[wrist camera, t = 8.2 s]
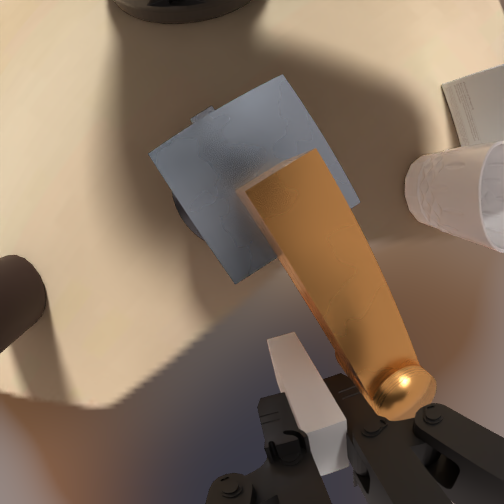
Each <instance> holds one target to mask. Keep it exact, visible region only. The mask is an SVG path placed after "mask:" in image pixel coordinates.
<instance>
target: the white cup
mask: <svg viewBox="0 0 504 504" xmlns="http://www.w3.org/2000/svg"><path fill="white" fill-rule="evenodd" d="M405 198H406V201H407V205H408V208H409V211H410V212H411V213H412V214H413V216H414V217H415V218H416V219H417V221H418V222H420V223H423V224H425V225H428V226H430V227H434V228H437V229H439V230H440V231H442V232H445V233H448V234H450V235H453V236H456V237H459V238H461V239H464V240H467V241H470V242H473V243H476V244H479V245H482V246H485V247H487V248H490V249H493V250H496V251H498V252H501V253H504V141H495V142H489V143H482V144H475V145H468V146H462V147H458V148H453V149H448V150H443V151H441V152H439V153H434V154H428V155H422V156H420V157H419V158H418V159H417V160H415V161H414V162H413V163H412V164H411V166H410V168H409V170H408V173H407V175H406V177H405Z"/></svg>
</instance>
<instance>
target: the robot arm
mask: <svg viewBox="0 0 504 504" xmlns="http://www.w3.org/2000/svg"><path fill="white" fill-rule="evenodd" d="M250 1H251V0H114V2H115V3H116V4H117V5H118V6H119V7H120V8H121V9H122V10H123V11H125V12H126V13H128V14H130V15H132V16H134V17H136V18H139V19H142V20H146V21H151V22H157V23H189V22H197V21H202V20H207V19H211V18H215V17H218V16H221V15H224V14H227V13H230V12H232V11H234V10H236V9H238V8H240V7H242V6H244V5H246V4H247V3H249V2H250ZM267 343H268V347H269V351H270V355H271V360H272V364H273V368H274V372H275V376H276V380H277V383H278V386H279V389H280V392H281V393H279V394H275V395H271V396H267V397H264V398H261V399H260V401H259V404H258V407H257V408H258V413H259V416H260V421H261V425H262V429H263V434H264V438H265V446H264V447H265V448H264V449H265V451H266V454H267V460H266V461H265V463H264V464H263V465H262V466H261V467H260V468H259V469H257V470H255V471H254V472H252V473H250V474H248V475H246V476H244V475H242V474H237V473H230V474H225V475H223V476H221V477H218V478H217V479H216V480H215V481H214V482H213V483H212V485H211V487H210V489H209V493H208V496H207V500H206V503H205V504H332V503H331V500H330V498H329V495H328V493H327V491H326V488H325V485H324V483H323V481H322V478H321V476H322V475H326V474H329V473H332V472H335V471H337V470H340V469H343V468H346V467H349V461H350V463H351V465H352V467H353V469H354V470H353V471H354V472H353V475H354V476H353V479H354V487H355V486H357V483H358V485H359V487H360V488H361V491H362V493H363V494H364V496H365V498H366V500H367V502H368V504H452V502H453V503H455V504H504V438H503V437H501V436H499V435H497V434H496V433H494V432H492V431H490V430H488V429H486V428H484V427H482V426H481V425H479V424H477V423H475V422H474V421H472V420H470V419H468V418H466V417H464V416H463V415H461V414H459V413H457V412H456V411H454V410H452V409H450V408H448V407H447V406H445V405H442V404H437V403H436V404H435V403H432V404H428V405H425V406H423V407H421V408H420V409H419V410H418V411H417V412H416V414H415V417H414V418H410V419H405V420H400V421H389V420H388V419H387V418H385V417H382V416H378V415H377V414H376V413H375V411H374V410H373V409H372V407H371V406H370V404H369V403H368V402H367V400H366V399H365V398H364V396H363V395H362V394H361V393H360V391H359V389H358V388H357V387H356V385H355V384H354V383H353V381H352V380H351V379H350V378H349V377H347V376H345V375H343V374H341V373H340V374H337V375H334V376H331V377H328V378H325V379H322V377H321V376H320V374H319V372H318V371H317V369H316V367H315V366H314V364H313V362H312V361H311V359H310V357H309V355H308V354H307V352H306V350H305V349H304V347H303V345H302V344H301V342H300V340H299V339H298V337H297V335H296V334H295V332H291V333H288V334H285V335H281V336H277V337H273V338H270V339H267ZM450 500H451V501H452V502H451V501H450Z"/></svg>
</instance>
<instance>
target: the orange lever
mask: <svg viewBox="0 0 504 504" xmlns="http://www.w3.org/2000/svg"><path fill="white" fill-rule="evenodd" d="M190 120H191V123H192V125H190V126H189V127H187V128H186V129H184V130H183V131H181V132H179V133H178V134H176V135H175V136H173V137H172V138H170V139H169V140H167V141H166V142H164V143H163V144H161V145H160V146H159V147H157V148H156V149H154V150H153V151H151V152H150V153H149V154H148V155H149V156H150V158H151V159H152V161H153V162H154V164H155V166H156V167H157V169H158V170H159V172H160V173H161V175H162V176H163V178H164V179H165V181H166V183H167V184H168V186H169V187H170V189H171V190H172V192H173V193H174V195H175V196H176V198H177V199H178V201H179V202H180V204H181V205H182V207H183V208H184V210H185V211H186V213H187V214H188V216H189V217H190V219H191V220H192V222H193V223H194V225H195V226H196V228H197V229H198V231H199V232H200V234H201V235H202V237H203V238H204V240H205V241H206V243H207V244H208V246H209V247H210V249H211V250H212V252H213V253H214V255H215V256H216V257H217V259H218V260H219V262H220V263H221V265H222V266H223V268H224V269H225V271H226V272H227V273H228V275H229V276H230V278H231V279H232V281H233V282H234V284H237V283H239V282H240V281H242V280H243V279H245V278H246V277H248V276H249V275H251V274H253V273H254V272H256V271H257V270H259V269H260V268H262V267H263V266H265V265H266V264H268V263H269V262H271V261H273V260H274V259H276V258H277V257H278V259H279V260H280V262H281V263H282V265H283V267H284V268H285V270H286V271H287V273H288V275H289V276H290V278H291V279H292V281H293V283H294V284H295V286H296V287H297V289H298V291H299V292H300V294H301V295H302V297H303V299H304V300H305V302H306V304H307V305H308V307H309V308H310V310H311V312H312V313H313V315H314V316H315V318H316V320H317V321H318V323H319V325H320V326H321V328H322V329H323V331H324V333H325V334H326V336H327V337H328V339H329V341H330V343H331V344H332V346H333V347H334V349H335V356H336V359H337V361H338V363H339V364H340V366H341V367H342V369H343V370H344V372H345V373H346V374H347V376H348V377H349V378H350V379H351V380H352V381H353V383H354V384H355V385H356V387H357V388H358V389H359V391H360V393H361V394H362V395H363V396H364V398H365V399H366V400H367V402H368V403H369V404H370V406H371V407H372V409H373V410H374V411H375V413H376V414H377V415H378V416H382V417H385V418H387V419H388V420H389V421H400V420H405V419H410V418H414V417H415V414H416V412H417V411H418V410H419V409H420V408H421V407H423V406H425V405H428V404H431V402H432V400H433V398H434V396H435V393H436V387H437V386H436V381H435V379H434V377H432V376H431V375H430V374H429V373H428V372H427V371H426V370H425V369H424V368H423V367H422V366H420V365H419V362H418V359H417V356H416V354H415V351H414V348H413V346H412V343H411V340H410V338H409V335H408V333H407V330H406V328H405V325H404V323H403V320H402V318H401V315H400V313H399V310H398V308H397V306H396V303H395V301H394V299H393V296H392V294H391V292H390V289H389V287H388V285H387V282H386V280H385V278H384V276H383V274H382V271H381V269H380V267H379V265H378V263H377V261H376V259H375V256H374V254H373V252H372V250H371V248H370V246H369V244H368V242H367V240H366V238H365V236H364V234H363V232H362V230H361V228H360V226H359V224H358V222H357V220H356V218H355V216H354V214H353V213H352V211H351V208H353V207H354V206H356V205H357V204H359V203H360V200H359V198H358V196H357V194H356V192H355V191H354V189H353V187H352V185H351V183H350V181H349V180H348V178H347V176H346V174H345V172H344V171H343V169H342V167H341V165H340V163H339V162H338V160H337V158H336V156H335V155H334V153H333V151H332V150H331V148H330V146H329V145H328V143H327V141H326V140H325V138H324V136H323V135H322V133H321V131H320V130H319V128H318V127H317V125H316V123H315V122H314V120H313V119H312V117H311V115H310V114H309V112H308V111H307V109H306V108H305V106H304V105H303V103H302V102H301V100H300V99H299V97H298V96H297V94H296V93H295V91H294V90H293V88H292V87H291V85H290V84H289V83H288V81H287V80H286V78H285V77H284V75H283V74H282V75H280V76H278V77H276V78H274V79H272V80H270V81H268V82H266V83H264V84H262V85H260V86H258V87H256V88H254V89H252V90H250V91H249V92H247V93H245V94H243V95H241V96H239V97H238V98H236V99H234V100H232V101H230V102H229V103H227V104H225V105H223V106H222V107H220V108H218V109H217V110H214V108H213V107H212V106H211V107H209V108H207V109H206V110H204V111H202V112H201V113H199V114H197V115H196V116H194V117H193V118H191V119H190Z"/></svg>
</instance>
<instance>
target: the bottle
mask: <svg viewBox="0 0 504 504" xmlns="http://www.w3.org/2000/svg"><path fill="white" fill-rule="evenodd" d="M44 308H45V291H44V286H43V283H42V280H41V278H40V276H39V274H38V272H37V271H36V269H35V268H34V267H33V265H32V264H31V263H29V262H28V261H27V260H26V259H25V258H22V257H20V256H17V255H8V256H5V257H2V258H0V353H1V352H3V351H4V350H5V349H6V348H7V347H8V346H9V345H10V344H11V343H13V342H14V341H15V340H16V339H17V338H18V337H19V336H21V335H22V334H23V333H24V332H25V331H26V330H27V329H29V328H30V327H31V326H32V325H33V324H34V323H36V322H37V320H38V319H39V318H40V317H41V316H42V313H43V311H44Z"/></svg>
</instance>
